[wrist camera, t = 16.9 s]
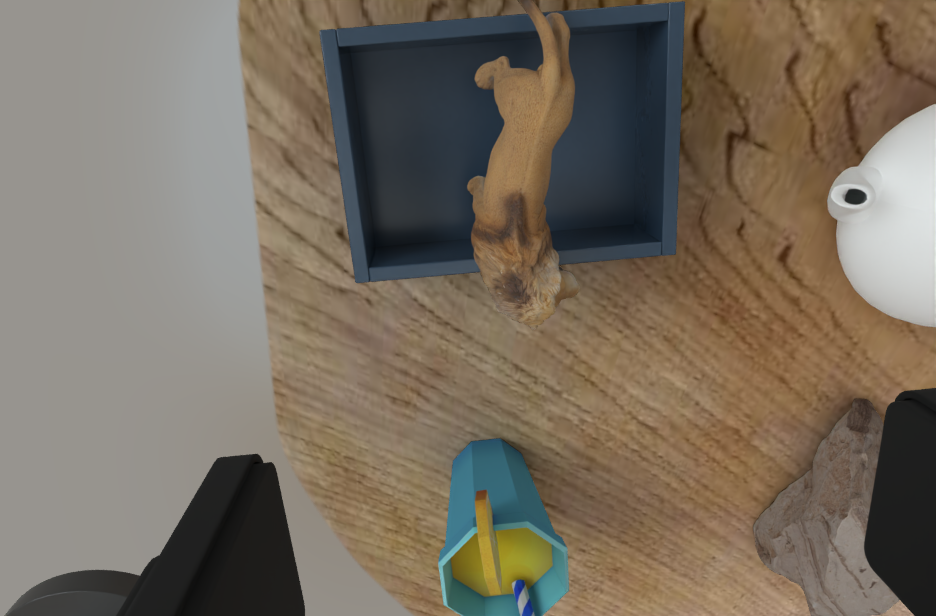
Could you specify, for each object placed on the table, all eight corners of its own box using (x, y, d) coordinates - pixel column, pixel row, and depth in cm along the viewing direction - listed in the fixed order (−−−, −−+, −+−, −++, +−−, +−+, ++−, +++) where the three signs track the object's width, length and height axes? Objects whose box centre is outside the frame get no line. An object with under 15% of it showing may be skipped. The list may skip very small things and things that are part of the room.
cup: (581, 525, 47) (646, 714, 32) (489, 567, 47) (514, 769, 33) (498, 378, 42) (533, 522, 28) (399, 427, 43) (384, 591, 29)
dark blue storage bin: (366, 256, 39) (355, 283, 33) (336, 39, 35) (318, 30, 29) (642, 232, 39) (676, 254, 34) (646, 15, 35) (685, 1, 30)
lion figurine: (554, 239, 37) (588, 337, 30) (466, 246, 37) (480, 347, 30) (569, -34, 28) (623, 17, 21) (452, -27, 28) (468, 28, 21)
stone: (797, 586, 50) (946, 605, 43) (750, 640, 44) (914, 672, 37) (747, 406, 51) (885, 393, 44) (695, 435, 45) (844, 426, 38)
